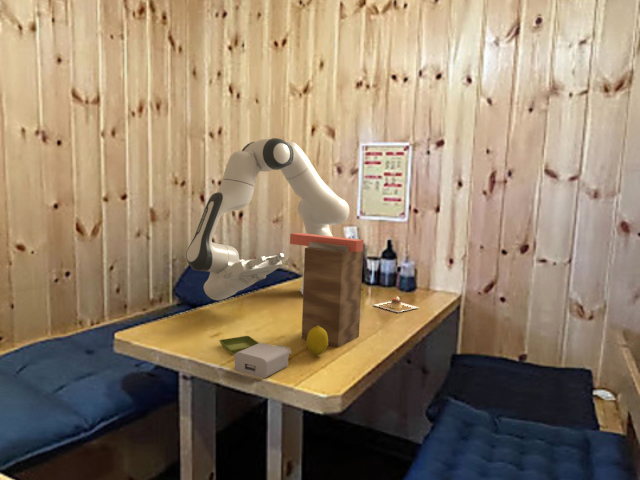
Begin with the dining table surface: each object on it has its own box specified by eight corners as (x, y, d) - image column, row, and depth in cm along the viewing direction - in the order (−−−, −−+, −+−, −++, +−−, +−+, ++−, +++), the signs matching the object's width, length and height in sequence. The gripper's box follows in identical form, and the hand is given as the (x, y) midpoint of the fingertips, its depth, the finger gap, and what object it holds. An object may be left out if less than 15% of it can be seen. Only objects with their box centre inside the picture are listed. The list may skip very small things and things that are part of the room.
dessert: (372, 307, 181) (372, 294, 181) (393, 303, 189) (394, 291, 189) (397, 315, 172) (398, 301, 172) (419, 310, 180) (420, 297, 180)
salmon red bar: (297, 242, 149) (298, 232, 148) (362, 250, 137) (363, 239, 137) (289, 243, 145) (290, 233, 145) (356, 252, 134) (356, 241, 133)
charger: (301, 360, 125) (266, 380, 112) (272, 353, 129) (234, 370, 116) (302, 342, 124) (266, 359, 111) (272, 335, 129) (234, 351, 116)
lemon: (311, 360, 124) (312, 329, 123) (302, 353, 129) (303, 323, 128) (331, 358, 126) (332, 327, 125) (322, 351, 131) (323, 321, 130)
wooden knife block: (324, 329, 151) (327, 239, 148) (358, 336, 145) (363, 243, 141) (301, 338, 141) (305, 242, 138) (337, 347, 135) (342, 247, 131)
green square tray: (262, 352, 130) (262, 344, 129) (230, 357, 125) (230, 349, 125) (248, 342, 137) (248, 335, 137) (218, 347, 132) (218, 339, 132)
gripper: (216, 269, 151) (247, 250, 144) (259, 261, 168) (288, 244, 161) (223, 288, 150) (255, 270, 143) (266, 278, 167) (296, 262, 160)
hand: (273, 256), depth 152 cm, fingers open, 8 cm apart
